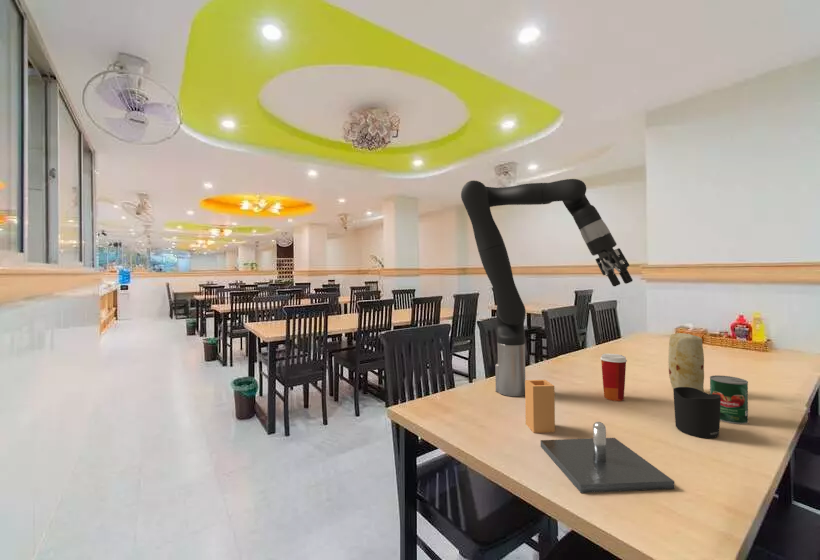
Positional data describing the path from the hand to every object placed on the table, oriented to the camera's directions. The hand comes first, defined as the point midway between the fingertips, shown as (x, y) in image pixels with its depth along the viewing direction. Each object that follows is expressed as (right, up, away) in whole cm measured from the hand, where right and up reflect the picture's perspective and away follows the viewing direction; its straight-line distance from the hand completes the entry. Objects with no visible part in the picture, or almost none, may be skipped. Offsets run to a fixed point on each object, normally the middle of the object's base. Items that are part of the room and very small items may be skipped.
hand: (622, 284), depth 108 cm
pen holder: (+8, -38, -18) cm, 43 cm away
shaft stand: (-25, -38, -33) cm, 56 cm away
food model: (+29, -37, +12) cm, 49 cm away
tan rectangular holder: (-31, -38, -14) cm, 51 cm away
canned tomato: (+23, -38, -10) cm, 45 cm away
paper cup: (+1, -38, +8) cm, 39 cm away
